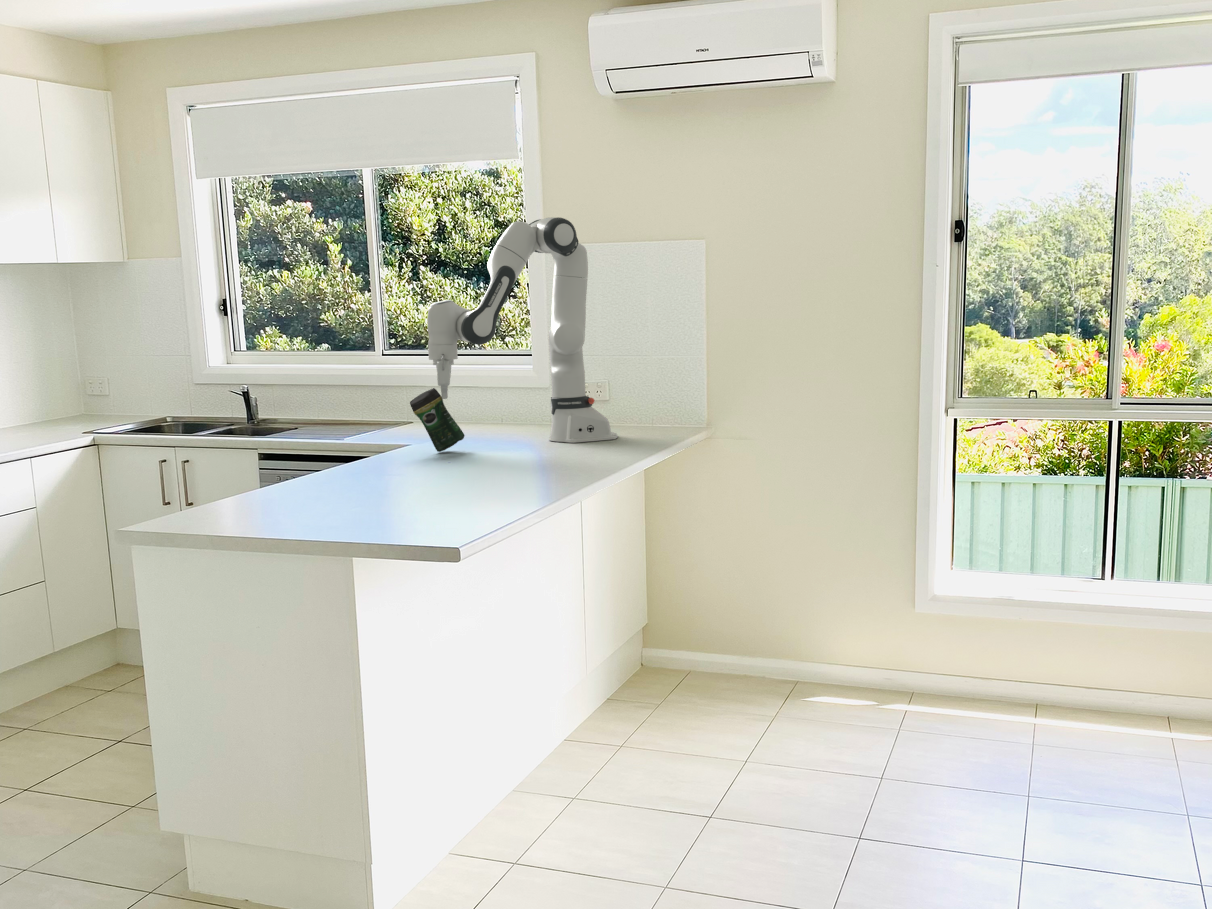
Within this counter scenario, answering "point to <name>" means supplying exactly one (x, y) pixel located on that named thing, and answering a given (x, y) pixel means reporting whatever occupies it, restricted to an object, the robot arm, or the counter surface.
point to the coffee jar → (436, 420)
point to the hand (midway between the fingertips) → (444, 398)
